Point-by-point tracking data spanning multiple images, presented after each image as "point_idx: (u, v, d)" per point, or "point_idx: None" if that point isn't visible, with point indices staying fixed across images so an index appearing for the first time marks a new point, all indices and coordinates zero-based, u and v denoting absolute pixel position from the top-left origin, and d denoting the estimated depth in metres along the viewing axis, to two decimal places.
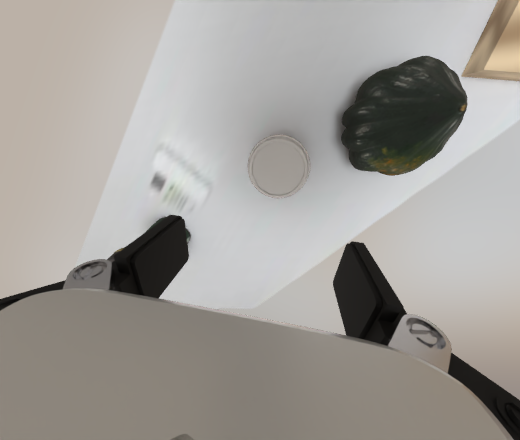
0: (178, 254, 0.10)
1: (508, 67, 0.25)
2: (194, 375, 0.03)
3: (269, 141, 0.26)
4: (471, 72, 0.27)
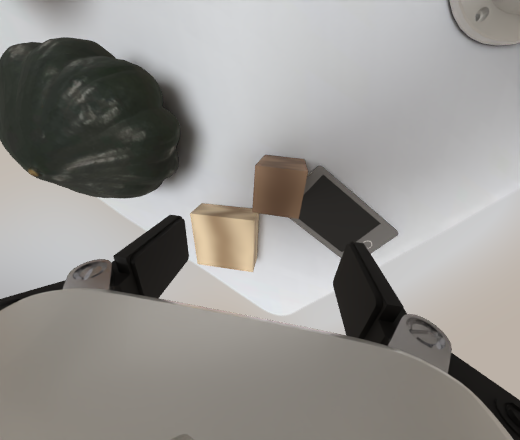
0: (178, 254, 0.10)
1: (195, 231, 0.27)
2: (194, 375, 0.03)
3: None
4: (197, 207, 0.27)
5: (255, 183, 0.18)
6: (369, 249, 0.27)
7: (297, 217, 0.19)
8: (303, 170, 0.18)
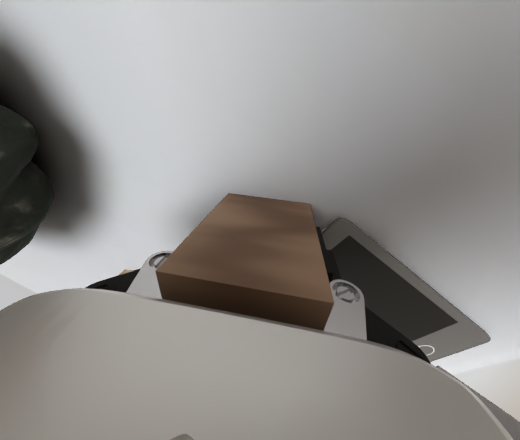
0: None
1: None
2: (194, 375, 0.03)
3: None
4: None
5: None
6: (427, 357, 0.15)
7: None
8: (315, 288, 0.05)
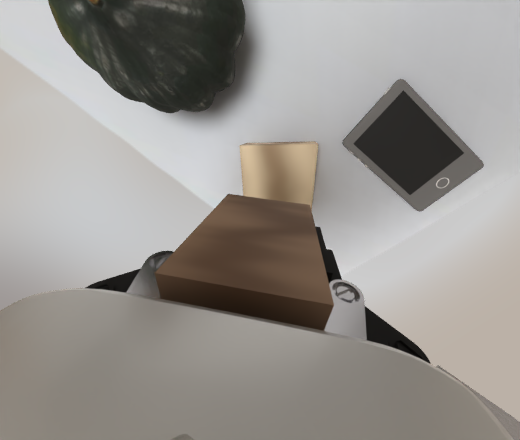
0: None
1: (244, 169, 0.23)
2: (194, 375, 0.03)
3: None
4: (244, 144, 0.24)
5: None
6: (444, 189, 0.24)
7: None
8: (315, 290, 0.05)
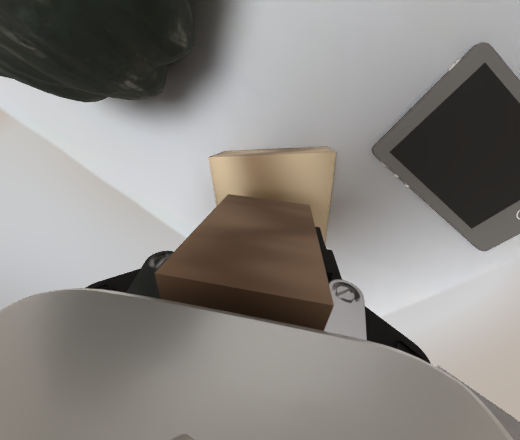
0: None
1: (219, 193, 0.15)
2: (194, 375, 0.03)
3: None
4: (219, 153, 0.15)
5: None
6: None
7: None
8: (315, 290, 0.05)
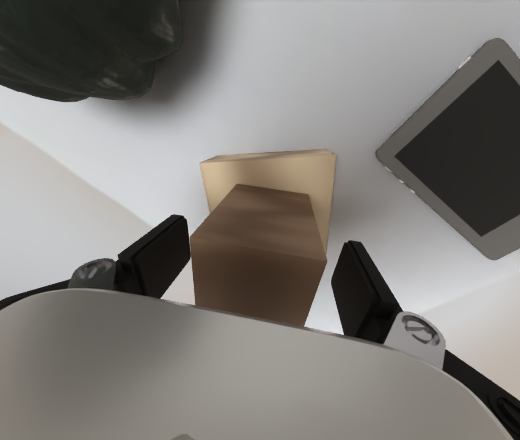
0: (180, 253, 0.10)
1: (212, 201, 0.14)
2: (194, 375, 0.03)
3: None
4: (212, 158, 0.15)
5: (195, 273, 0.08)
6: None
7: None
8: (313, 252, 0.07)
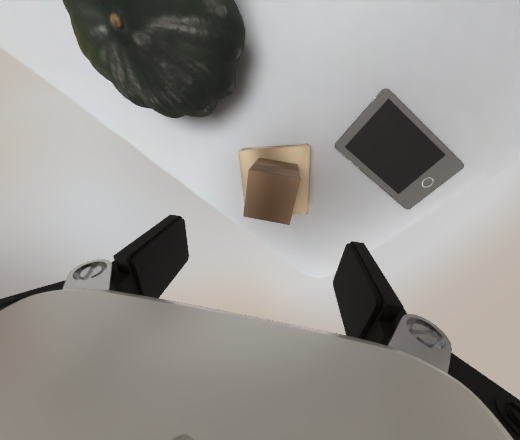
0: (178, 254, 0.10)
1: (244, 173, 0.25)
2: (194, 375, 0.03)
3: None
4: (242, 149, 0.26)
5: (247, 187, 0.18)
6: (429, 188, 0.26)
7: (288, 223, 0.20)
8: (296, 177, 0.18)
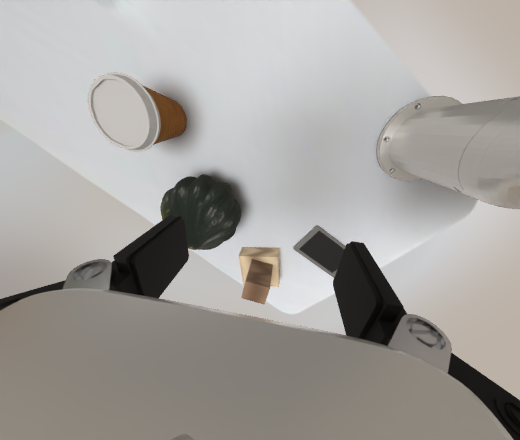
0: (178, 254, 0.10)
1: (242, 265, 0.44)
2: (194, 375, 0.03)
3: (142, 102, 0.23)
4: (241, 251, 0.45)
5: (244, 287, 0.37)
6: None
7: (263, 303, 0.39)
8: (267, 285, 0.37)
